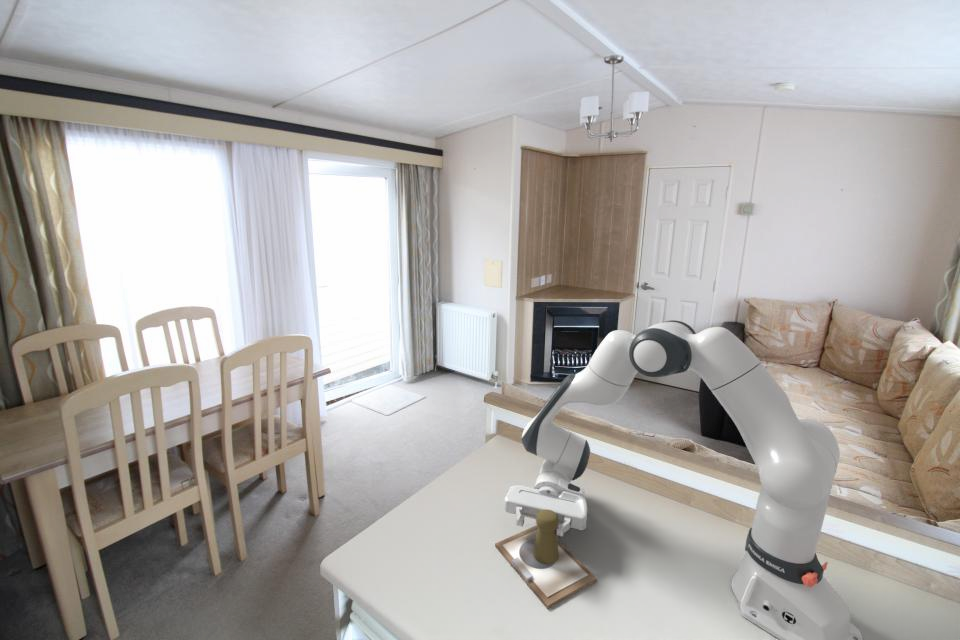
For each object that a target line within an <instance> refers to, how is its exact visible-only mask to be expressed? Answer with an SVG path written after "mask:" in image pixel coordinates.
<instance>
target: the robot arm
mask: <svg viewBox="0 0 960 640" xmlns="http://www.w3.org/2000/svg"><path fill="white" fill-rule="evenodd" d="M688 370H690V371H693V372H695V374H697V376H699V377H700V378H701V379H702V381H703V383H705V385H706V386H707V387H708V389H709V391H711V393H712V395H714V397H715V399H717V401H718V403H719V404H720V405H721V406H722V407H723V409H724V411H725V412H726V414H727V415H728V416H729V417H730V419H731V420H732V422H733V423H734V425H735V426H736V428H737V430H738V432H739V433H740V436H741V437H742V440H743V442H744V443H745V447H746V448H747V450H748V452H749V454H750V456H751V458H752V460H753V462H754V463H755V466H756V469H757V472H758V476H759V480H760V484H761V486H760V487H761V488H760V491H759V495H758V498H757V501H756V506H755V511H754V515H753V520H752V527H750V528H749V530H748V533H747V535H746V539H745V547H744V551H745V554H744V555H743V559H742V560H741V561H742V562H741V564H740V566H739V568H738V570H737V571H736V573H735V574H734V575H733V577H732V578H731V589H732V591H733V594H734V596H735V597H736V599H737V602H738V603H739V612H740V614H741V615H742V616H743V618H744V619H746V620H748V621H749V622H751V623H753V624H754V625H756V626H758V627H759V628H761V629H762V630H764V631H766V632H767V633H769V634H770V635H772V636H774V637H775V638H776V639H778V640H863V636H862V633H861V630H860V629H859V628H858V627H856V626H855V625H854V624H853V623H852V622H851V612H850V608H849V606H848V604H847V603H846V601H845V600H844V599H843V598H842V597H841V595H839V593H838V592H837V591H836V590H835V589H834V587H833V586H832V584H830V583H829V582H828V580H827V578H826V577H825V576H824V571H825V570H826V569H827V567H828V564H829V563H828V561H826V562H824V563H823V564H821V563H820V560H819V558H818V555H817V552H816V551H817V547H818V543H819V540H820V535H821V532H822V528H823V523H824V520H825V516H826V511H827V508H828V504H829V500H830V495H831V493H832V489H833V484H834V480H835V476H836V473H837V470H838V469H837V468H838V464H839V461H840V455H841V453H840V452H841V451H840V448H839V443H838V440H837V438H836V436H835V434H834V433H833V431H832V430H831V429H830V428H829V427H828V426H826V425H825V424H823V423H822V422H819V421H818V420H814V419H808V418H798V417H797V415H796V412H795V410H794V409H793V406H792V404H791V402H790V398H789V396H788V394H787V393H786V392H785V390H784V389H783V388H782V387H781V385H780V384H779V383H778V382H777V381H776V379H775V378H774V377H773V375H772V374H771V373H770V372H769V370H768V369H767V368H766V367H765V365H764V364H763V363H762V361H760V359H759V358H758V357H757V356H756V354H754V352H753V351H752V350H751V349H750V348H749V347H748V346H747V345H746V344H745V343H744V342H743V341H742V340H740V338H739V337H738V336H737V335H735V334H734V333H733V332H732V331H730V330H729V329H727V328H725V327H723V326H713V327H709V328H704V329H703V330H701V331H699V332H697V333H696V331H695V329H693V327H692V326H691V325H689V324H688V323H686V322H684V321H681V320H672V319H671V320H667V321H662V322H659V323H655V324H652V325H651V326H649V327H647V328H646V329H643V330H641V331H640V332H639V333H637V334H635V333H632V332H631V331H628V330H623V329H617V330H612V331H610V332H609V333H608V334H607V335H606V336H605V337H604V339H602V341H600V343H599V345H598V346H597V348H596V349H595V351H594V353H593V354H592V356H591V358H590V360H589V361H588V364H587V365H586V366H585V368H583V369H582V370H581V371H579V372H578V373H569V374H568V375H566V376H565V378H564V379H563V380H562V381H561V382H560V383H559V385H558V386H557V387H556V388H555V390H554V391H553V393H552V394H551V395H550V396H549V398H548V399H547V400H546V402H545V403H544V405H543V406H542V407H541V408H540V409H539V411H538V412H537V414H535V416H534V417H532V419H530V421H528V423H527V424H526V425H525V427H524V429H523V431H522V434H521V439H520V440H521V442H522V445H523V447H524V449H525V451H526V452H528V453H530V454H532V455H534V456H538V457H540V458H542V459H544V461H543V462H542V464H541V467H540V469H539V474H538V476H537V478H536V480H535V483H534V485H533V487H530V486H526V485H525V486H524V485H520V484H516V485H511V486H510V487H509V489H508V491H507V494H506V495H505V497H504V501H503V508H504V511H505V512H506V513H508V514H513V515H515V518H516V526H518V527H524V524H525V518H528V519H529V518H530V519H533V520H536V517H537V514H538V513H539V512H540V511H541V510H552V511H554V512H555V513H556V514H557V516H558V519H559V524H558V527H557V528H556V532H557V533H556V535H557V537H558V536H559V537H563V536H564V534H565V533H566V532H567V531H569V530H570V528H571V529H575V530H579V531H583V530H585V529H586V528H587V522H588V521H587V517H588V503H587V500H586V499H585V496H586V493H585V492H586V491H585V489H584V488H582V487H580V486H577V485H575V484H574V483H572V481H575V480H577V479H579V478H580V477H582V475H583V474H584V472H585V471H586V469H587V467H588V466H587V465H588V463H589V459H590V457H591V456H590V454H591V447H590V444H589V442H588V440H587V439H585V438H584V437H583V436H580V435H578V434H576V433H574V432H573V431H570V430H567V429H566V428H564V427H562V426H559V424H556V423H554V422H553V419H554V418H555V417H556V416H557V415H558V413H559V412H560V411H561V410H562V409H563V407H564V406H566V405H569V404H585V405H591V406H601V407H602V406H603V407H604V406H609V405H613V404H615V403H618V402H619V401H620V400H621V399H622V398H623V396H624V395H625V394H626V392H627V391H628V390H629V388H630V386H631V384H632V382H633V381H634V379H635V378H636V375H637V374H638V373H639V374H642V375H643V376H646V377H650V378H663V377H669V376H672V375H678V374H681V373H685V372H687V371H688Z"/></svg>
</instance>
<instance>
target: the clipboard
mask: <svg viewBox="0 0 960 640" xmlns="http://www.w3.org/2000/svg"><path fill="white" fill-rule="evenodd" d="M537 530H538V526H537V524H536V525H534V526H532V527H530V528H527V529H525V530H523V531H520V532H518V533H516V534H514V535H512V536H509V537H507V538H505V539H502V540H501V541H498V542H495V543H494V547H495V548H496V549H497V550H498V552H500V554H501V555H502V556H503V558H504V559H505V560H506V561H507V563H508V564H509V565H510V567H512V568H513V570H514V571H515V573H517V574H518V576H519V577H520V578H521V579H522V581H524V583H525V584H526V585H527V586H528V588H529V589H530V590H531V591H532V593H533V594H534V595H535V596H536V597H537V598H538V600H539V601H540V602H541V603H542V605H543V606H544V607H545V609H549V608H551V607H553V606H555V605H557V604H558V603H560V602H562V601H563V600H566V599H567V598H569V597H571V596H573V595H574V594H576V593H577V592H579V591H581V590H583V589H584V588H587V587H588V586H590V585H592V584H593V583H595V582H597V580H598V579H597V577H596V576H595V575H594V574H593V573H592V572H591V571H590V570H589V568H587V567H586V566H585V565H584V564H583V563H582V562H581V561H580V560H579V559H578V558H577V557H576V556H574V554H572V552H571V551H570V550H568V549H567V547H565V546H564V545H563V544H562V543H561V542H560V541H559V540H558V539H557V542H558V552H559V558H558V560H557V561H556V562H555V563H552V564H543V563H540V562H538V561H537V560H536V559H535V558H534V556H533V550H534V545H535V540H536V535H537Z"/></svg>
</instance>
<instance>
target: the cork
mask: <svg viewBox="0 0 960 640" xmlns="http://www.w3.org/2000/svg"><path fill="white" fill-rule="evenodd" d="M535 523H536V525H537V526H538V530H537V535H536V540H535V545H534V550H533V556H534V558H535V559H536V560H537V561H538V562H540V563H543V564H552V563H555V562H556V561H557V560H558V558H559V552H558V542H557V540H558V535H556V533H557V527H558V524H559V519H558V516H557V514H556V513H555V512H554V511H552V510H541V511H540V512H539V513H538V514H537V517H536V519H535Z"/></svg>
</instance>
